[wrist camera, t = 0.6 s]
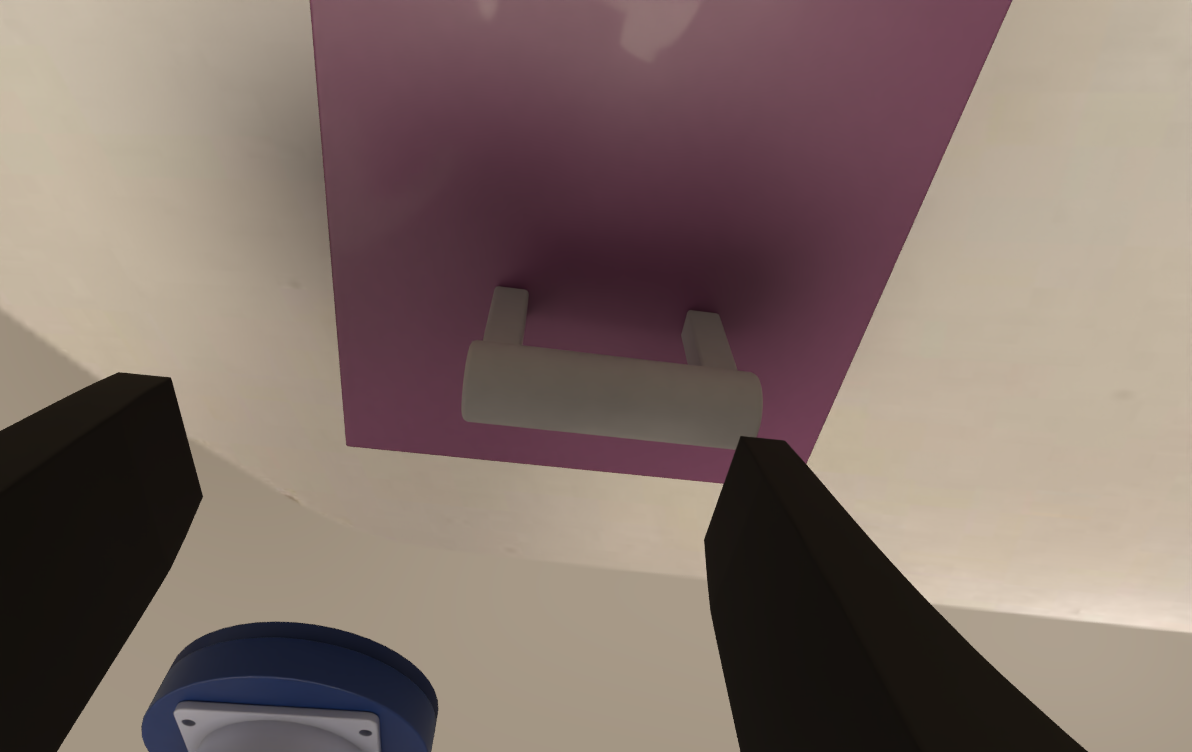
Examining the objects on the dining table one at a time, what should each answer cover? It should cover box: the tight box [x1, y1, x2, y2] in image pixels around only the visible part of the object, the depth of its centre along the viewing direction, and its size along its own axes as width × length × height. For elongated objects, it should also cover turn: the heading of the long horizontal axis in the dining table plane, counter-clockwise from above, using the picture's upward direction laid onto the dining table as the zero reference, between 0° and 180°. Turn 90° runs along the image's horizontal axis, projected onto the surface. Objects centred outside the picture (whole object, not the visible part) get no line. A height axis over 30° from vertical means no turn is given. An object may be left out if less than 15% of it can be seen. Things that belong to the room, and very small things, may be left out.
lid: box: [310, 0, 1012, 484], centre depth 12 cm, size 13×11×4 cm
